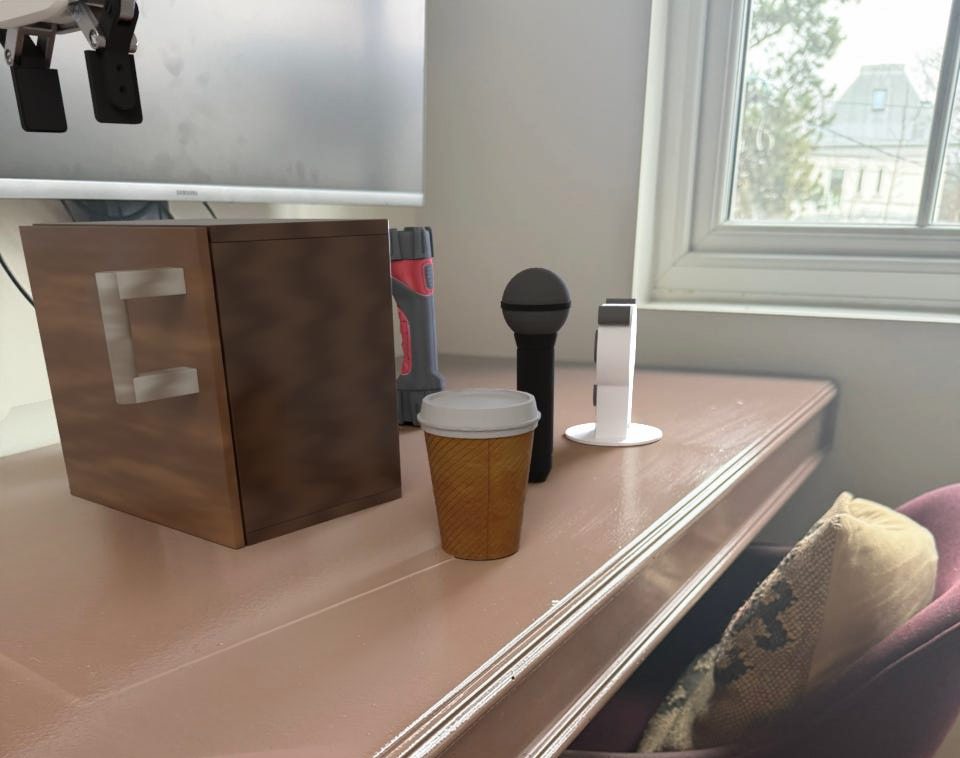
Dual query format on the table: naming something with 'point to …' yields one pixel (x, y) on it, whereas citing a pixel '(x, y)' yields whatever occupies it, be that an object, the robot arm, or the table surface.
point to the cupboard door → (137, 372)
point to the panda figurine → (614, 381)
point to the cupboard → (304, 365)
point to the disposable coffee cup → (479, 467)
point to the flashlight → (415, 318)
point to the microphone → (537, 349)
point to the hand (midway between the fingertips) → (81, 127)
